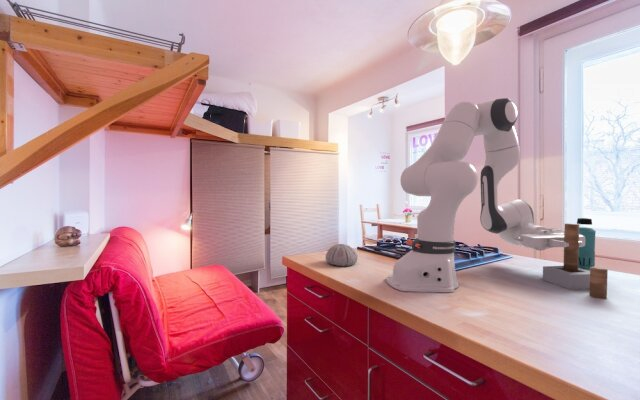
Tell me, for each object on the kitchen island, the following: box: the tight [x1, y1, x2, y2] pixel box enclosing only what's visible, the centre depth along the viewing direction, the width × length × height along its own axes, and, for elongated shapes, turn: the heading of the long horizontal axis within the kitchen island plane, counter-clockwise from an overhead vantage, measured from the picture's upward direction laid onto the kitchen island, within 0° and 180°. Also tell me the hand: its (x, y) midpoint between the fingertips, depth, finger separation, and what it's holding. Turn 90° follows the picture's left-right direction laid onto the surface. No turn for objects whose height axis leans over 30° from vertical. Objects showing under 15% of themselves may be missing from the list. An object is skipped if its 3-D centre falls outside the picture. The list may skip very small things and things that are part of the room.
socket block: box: [542, 265, 590, 291], centre depth 95 cm, size 10×10×4 cm
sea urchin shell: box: [324, 243, 359, 267], centre depth 122 cm, size 13×14×8 cm
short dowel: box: [588, 266, 609, 300], centre depth 84 cm, size 4×4×8 cm
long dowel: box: [563, 223, 580, 272], centre depth 95 cm, size 4×4×16 cm
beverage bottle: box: [576, 217, 596, 271], centre depth 108 cm, size 6×7×20 cm
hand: (574, 244), depth 94 cm, fingers closed on long dowel, 4 cm apart
